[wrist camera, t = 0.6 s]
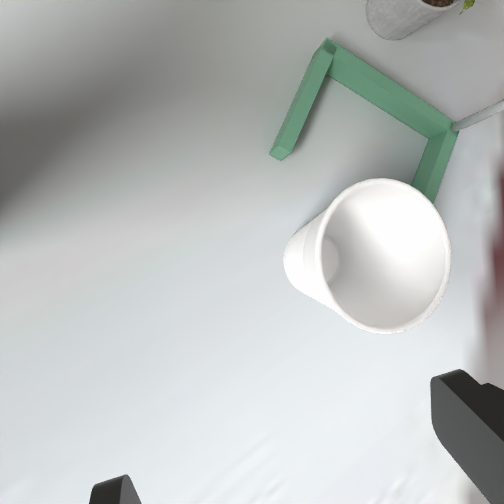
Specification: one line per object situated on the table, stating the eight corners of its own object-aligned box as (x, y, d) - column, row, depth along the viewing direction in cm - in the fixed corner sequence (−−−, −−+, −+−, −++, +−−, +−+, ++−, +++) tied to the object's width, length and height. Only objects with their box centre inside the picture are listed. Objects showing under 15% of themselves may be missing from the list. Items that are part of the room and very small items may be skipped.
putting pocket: (269, 154, 35) (377, 53, 19) (314, 53, 37) (448, -117, 21) (439, 248, 39) (643, 231, 23) (472, 154, 41) (683, 78, 25)
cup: (359, 206, 37) (447, 178, 26) (365, 311, 37) (457, 327, 26) (258, 206, 34) (311, 175, 24) (264, 320, 34) (320, 341, 23)
